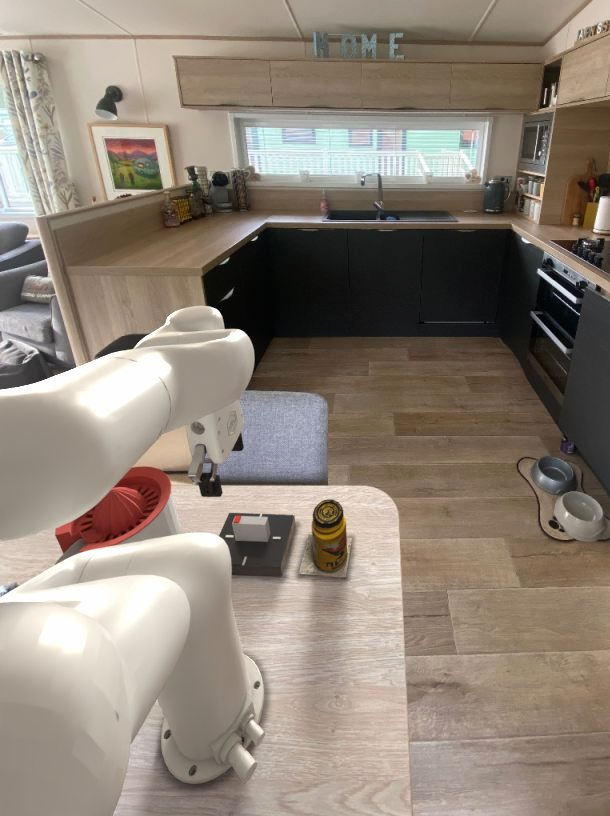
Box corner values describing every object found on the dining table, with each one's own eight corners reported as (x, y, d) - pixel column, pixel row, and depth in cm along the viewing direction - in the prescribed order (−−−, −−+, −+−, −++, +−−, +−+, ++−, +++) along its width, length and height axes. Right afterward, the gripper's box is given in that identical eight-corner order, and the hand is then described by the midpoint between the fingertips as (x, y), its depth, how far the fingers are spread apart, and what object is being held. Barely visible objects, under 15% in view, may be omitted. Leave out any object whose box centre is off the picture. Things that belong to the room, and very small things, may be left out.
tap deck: (295, 524, 77) (294, 513, 76) (282, 577, 68) (280, 566, 67) (231, 522, 78) (229, 511, 77) (208, 575, 68) (205, 563, 67)
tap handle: (270, 533, 72) (267, 515, 71) (267, 542, 71) (265, 523, 69) (238, 532, 73) (235, 514, 71) (235, 540, 71) (231, 522, 69)
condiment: (346, 577, 68) (344, 530, 63) (298, 574, 69) (293, 527, 64) (352, 538, 75) (350, 493, 70) (308, 535, 75) (304, 490, 71)
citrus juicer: (54, 605, 64) (10, 520, 56) (152, 519, 78) (127, 441, 70) (115, 655, 58) (74, 567, 50) (208, 551, 72) (188, 471, 64)
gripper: (207, 425, 51) (226, 517, 58) (250, 357, 67) (261, 435, 74) (150, 424, 51) (176, 516, 58) (207, 356, 67) (222, 435, 74)
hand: (224, 471), depth 66 cm, fingers open, 9 cm apart
